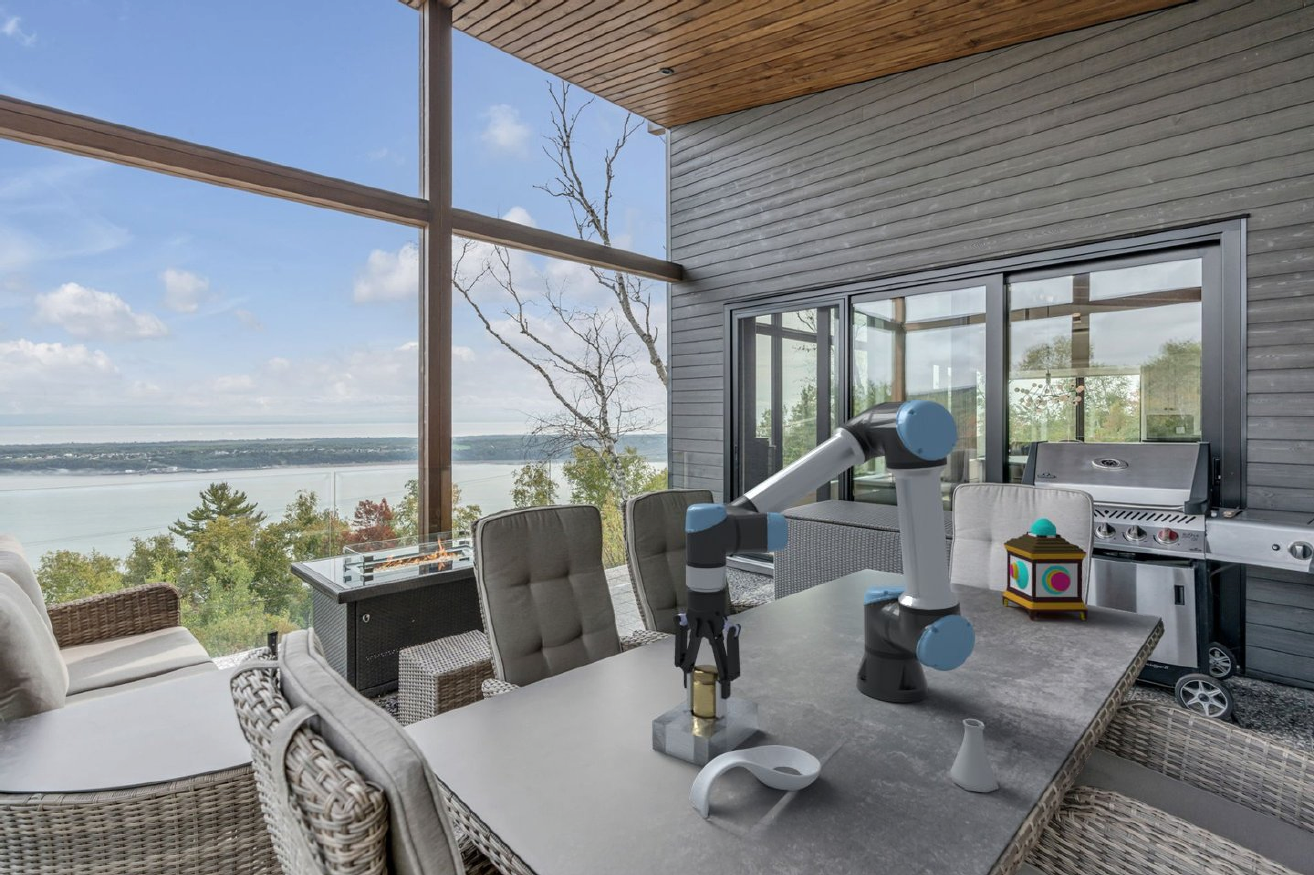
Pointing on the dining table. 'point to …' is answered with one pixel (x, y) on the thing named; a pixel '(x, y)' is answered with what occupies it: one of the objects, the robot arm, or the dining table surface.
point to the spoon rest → (757, 771)
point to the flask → (973, 761)
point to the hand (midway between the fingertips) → (706, 710)
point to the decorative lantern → (1044, 572)
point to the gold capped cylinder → (705, 691)
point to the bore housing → (704, 731)
